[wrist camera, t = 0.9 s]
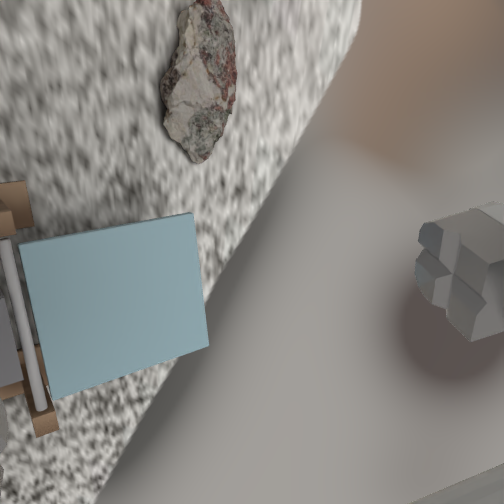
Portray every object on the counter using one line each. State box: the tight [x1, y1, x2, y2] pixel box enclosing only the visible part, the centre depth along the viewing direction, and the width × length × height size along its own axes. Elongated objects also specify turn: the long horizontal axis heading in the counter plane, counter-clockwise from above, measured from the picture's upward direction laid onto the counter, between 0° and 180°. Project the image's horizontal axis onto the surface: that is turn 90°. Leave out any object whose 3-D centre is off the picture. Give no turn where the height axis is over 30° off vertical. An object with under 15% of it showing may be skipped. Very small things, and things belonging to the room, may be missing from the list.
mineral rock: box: [160, 0, 237, 164], centre depth 46 cm, size 15×8×4 cm, turn 161°
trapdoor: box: [0, 212, 209, 411], centre depth 35 cm, size 13×19×4 cm
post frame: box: [0, 181, 59, 438], centre depth 37 cm, size 19×7×11 cm, turn 6°
